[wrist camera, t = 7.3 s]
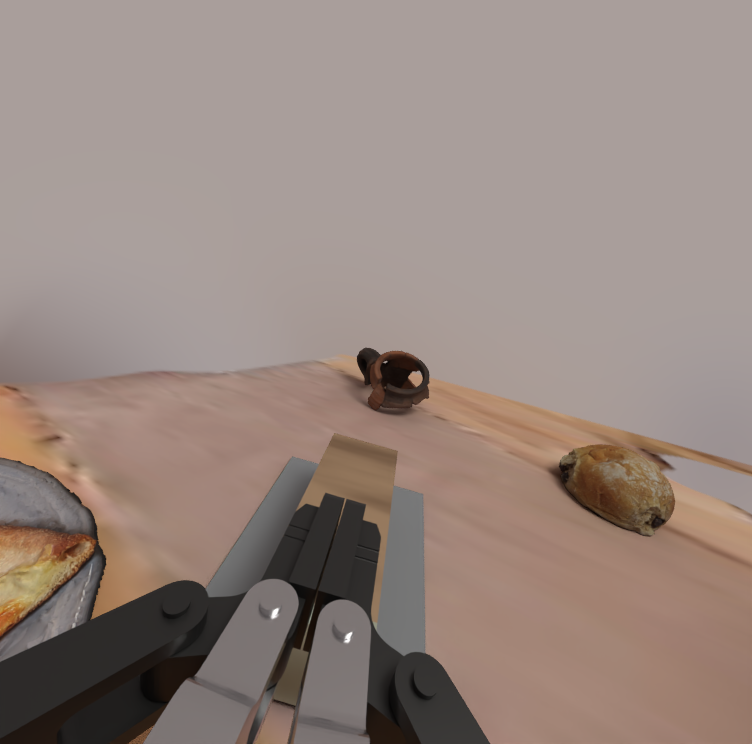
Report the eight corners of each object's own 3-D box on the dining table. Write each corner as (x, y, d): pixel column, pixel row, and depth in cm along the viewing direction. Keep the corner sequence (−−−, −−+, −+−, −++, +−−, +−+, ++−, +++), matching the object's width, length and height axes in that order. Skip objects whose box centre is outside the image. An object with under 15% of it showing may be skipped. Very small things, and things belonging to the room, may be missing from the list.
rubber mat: (291, 459, 31) (292, 456, 31) (422, 496, 30) (423, 494, 30) (168, 650, 16) (168, 645, 16) (424, 730, 15) (426, 726, 15)
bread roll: (593, 559, 34) (671, 528, 29) (533, 463, 40) (589, 425, 35) (640, 538, 39) (713, 509, 34) (580, 456, 45) (635, 421, 40)
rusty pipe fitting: (430, 405, 52) (449, 371, 46) (393, 446, 47) (408, 413, 40) (369, 359, 56) (379, 322, 49) (328, 392, 50) (333, 355, 44)
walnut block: (234, 686, 15) (322, 486, 28) (346, 722, 15) (381, 503, 28) (248, 605, 13) (334, 433, 26) (374, 643, 13) (397, 451, 26)
